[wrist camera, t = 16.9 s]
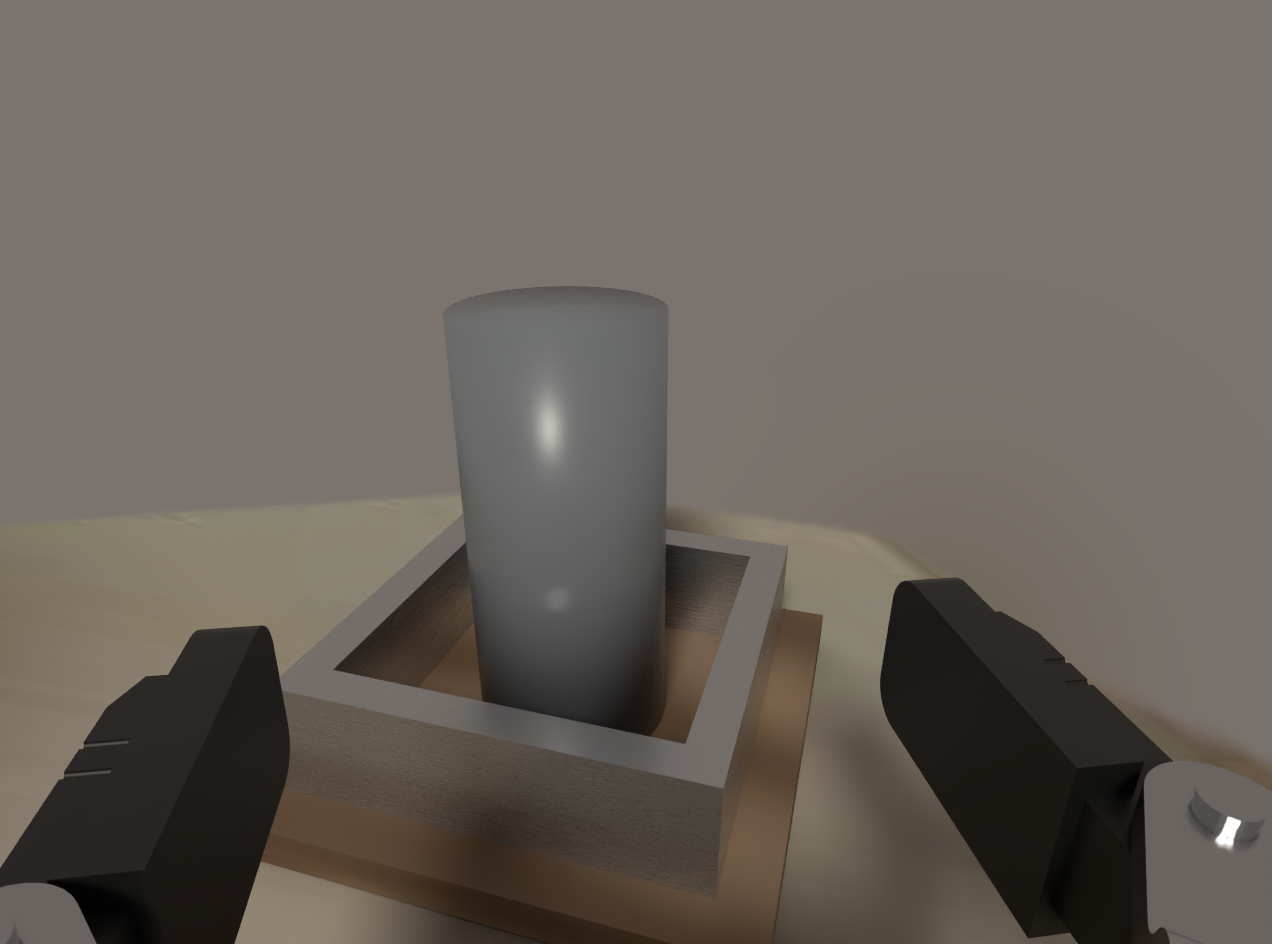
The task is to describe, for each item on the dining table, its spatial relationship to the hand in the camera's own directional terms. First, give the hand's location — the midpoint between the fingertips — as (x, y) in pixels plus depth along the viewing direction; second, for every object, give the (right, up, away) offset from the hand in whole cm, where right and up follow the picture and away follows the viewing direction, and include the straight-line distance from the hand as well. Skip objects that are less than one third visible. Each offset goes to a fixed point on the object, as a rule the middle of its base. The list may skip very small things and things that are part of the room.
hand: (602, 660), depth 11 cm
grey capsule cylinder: (-1, -4, +12) cm, 13 cm away
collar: (-1, -4, +13) cm, 13 cm away
